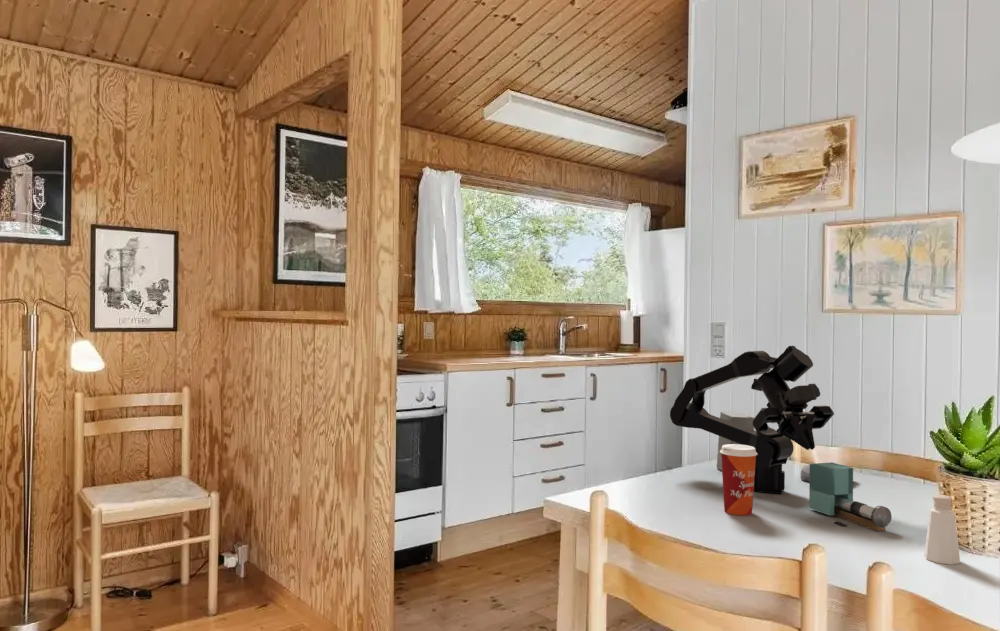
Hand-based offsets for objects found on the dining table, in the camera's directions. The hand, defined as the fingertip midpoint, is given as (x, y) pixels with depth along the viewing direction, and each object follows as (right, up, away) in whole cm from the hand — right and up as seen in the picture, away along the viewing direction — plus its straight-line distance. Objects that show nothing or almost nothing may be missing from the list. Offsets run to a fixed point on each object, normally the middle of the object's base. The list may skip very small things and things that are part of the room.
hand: (811, 448), depth 160 cm
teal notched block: (+2, -13, -6) cm, 14 cm away
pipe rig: (+3, -13, -11) cm, 17 cm away
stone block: (+14, -13, +24) cm, 31 cm away
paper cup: (-18, -13, -6) cm, 23 cm away
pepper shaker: (+7, -13, -35) cm, 38 cm away
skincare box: (-6, -13, +33) cm, 36 cm away
